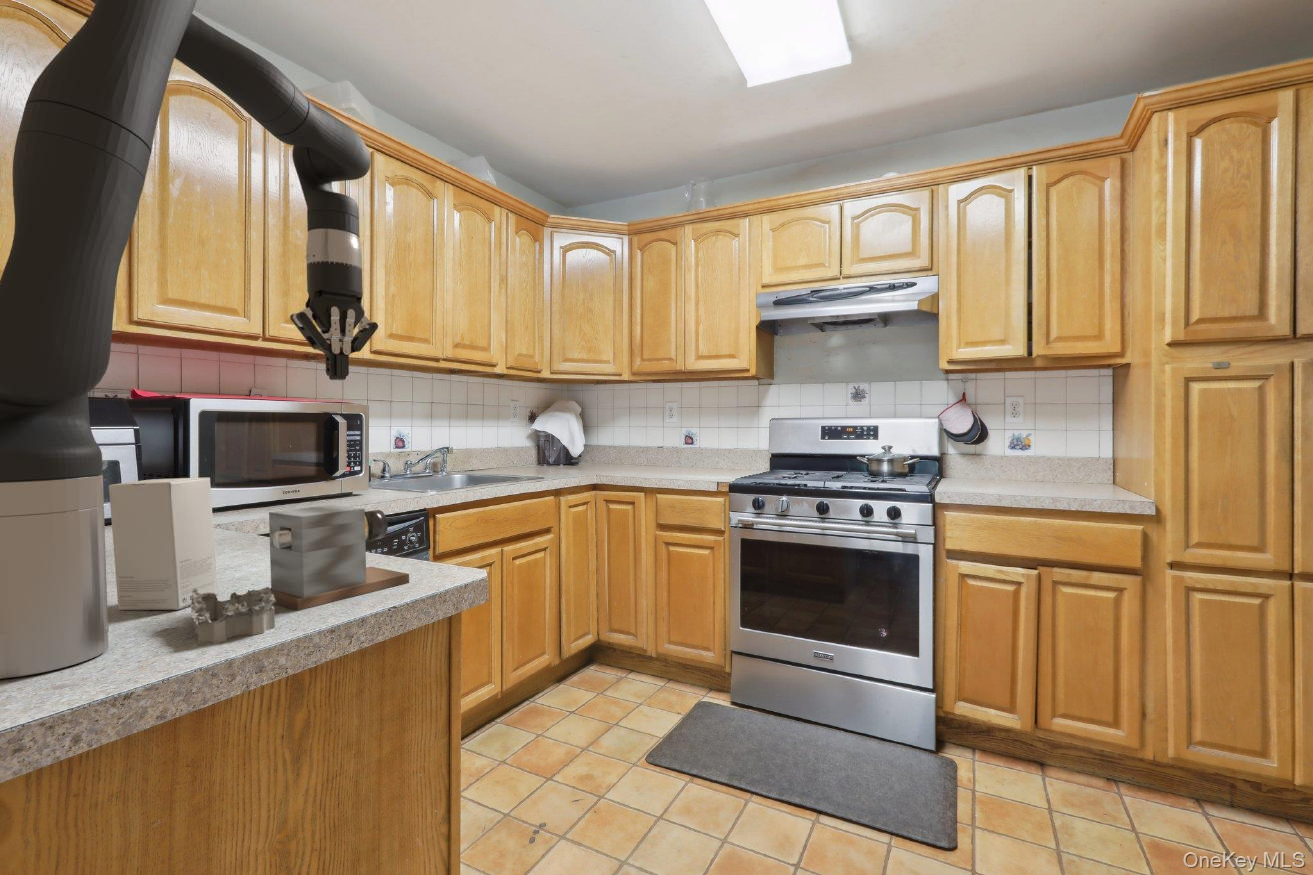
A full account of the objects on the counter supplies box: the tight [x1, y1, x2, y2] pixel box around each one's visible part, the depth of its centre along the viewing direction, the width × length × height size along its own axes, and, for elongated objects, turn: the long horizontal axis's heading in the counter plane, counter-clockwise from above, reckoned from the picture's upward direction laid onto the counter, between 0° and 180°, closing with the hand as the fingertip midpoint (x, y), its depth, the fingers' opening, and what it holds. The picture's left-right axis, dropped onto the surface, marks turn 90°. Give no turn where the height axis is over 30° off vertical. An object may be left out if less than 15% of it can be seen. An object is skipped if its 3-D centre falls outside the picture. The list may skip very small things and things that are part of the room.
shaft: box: [273, 509, 389, 548], centre depth 82 cm, size 14×4×4 cm, turn 147°
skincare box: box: [108, 477, 219, 611], centre depth 77 cm, size 8×7×16 cm
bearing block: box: [268, 504, 410, 611], centre depth 82 cm, size 15×9×11 cm, turn 147°
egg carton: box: [190, 586, 276, 644], centre depth 68 cm, size 11×8×4 cm
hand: (337, 379), depth 95 cm, fingers closed
